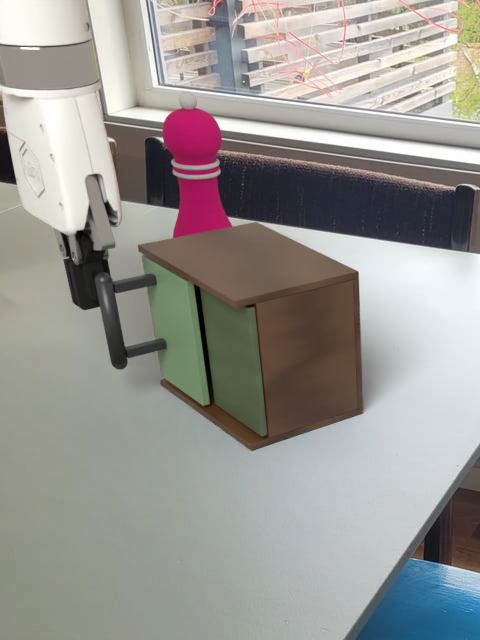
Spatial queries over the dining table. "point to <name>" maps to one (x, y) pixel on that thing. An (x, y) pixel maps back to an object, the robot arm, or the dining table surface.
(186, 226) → the pepper mill
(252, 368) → the cupboard
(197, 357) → the closet door
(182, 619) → the dining table surface
